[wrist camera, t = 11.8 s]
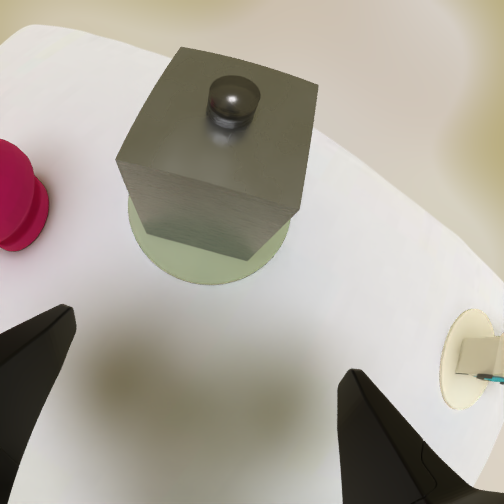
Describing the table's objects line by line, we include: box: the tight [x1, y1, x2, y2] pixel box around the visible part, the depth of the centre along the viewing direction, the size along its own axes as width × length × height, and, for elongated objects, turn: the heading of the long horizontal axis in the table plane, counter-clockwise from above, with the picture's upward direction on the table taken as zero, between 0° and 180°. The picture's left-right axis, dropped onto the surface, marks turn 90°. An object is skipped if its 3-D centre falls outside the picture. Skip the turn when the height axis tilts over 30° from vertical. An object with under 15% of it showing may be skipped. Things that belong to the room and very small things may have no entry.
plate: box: [128, 195, 290, 285], centre depth 21 cm, size 12×12×1 cm
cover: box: [115, 47, 318, 261], centre depth 16 cm, size 7×7×11 cm
